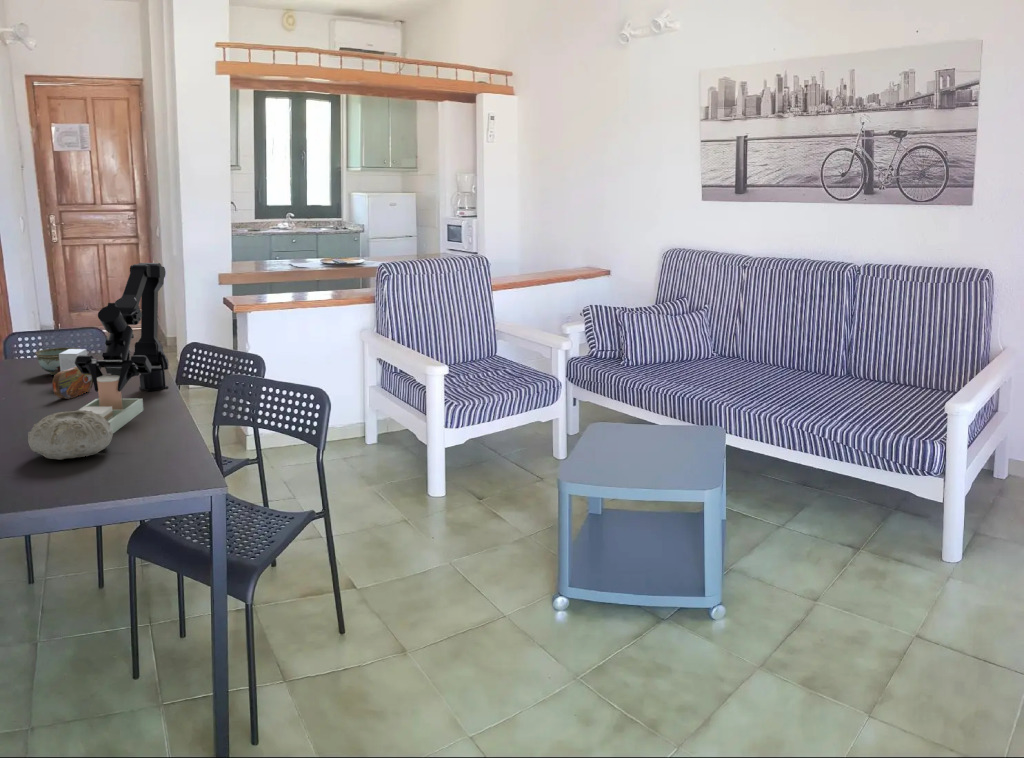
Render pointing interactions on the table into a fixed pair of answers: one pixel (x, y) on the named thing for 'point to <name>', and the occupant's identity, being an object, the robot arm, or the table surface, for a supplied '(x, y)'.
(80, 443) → the grey rounded lump
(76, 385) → the tin
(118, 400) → the canister
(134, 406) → the tote
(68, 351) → the small box
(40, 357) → the bowl
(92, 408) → the block
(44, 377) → the table surface
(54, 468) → the table surface
